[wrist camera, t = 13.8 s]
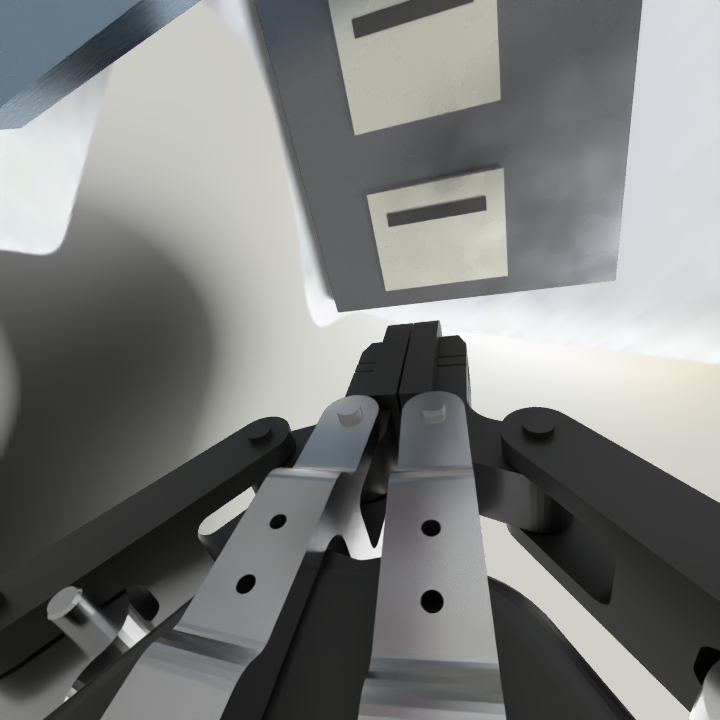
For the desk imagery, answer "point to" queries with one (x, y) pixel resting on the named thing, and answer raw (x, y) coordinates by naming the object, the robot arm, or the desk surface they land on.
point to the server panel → (458, 140)
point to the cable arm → (67, 46)
